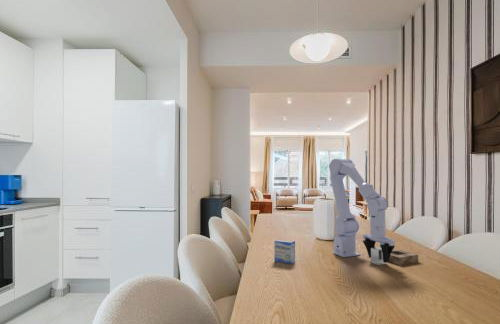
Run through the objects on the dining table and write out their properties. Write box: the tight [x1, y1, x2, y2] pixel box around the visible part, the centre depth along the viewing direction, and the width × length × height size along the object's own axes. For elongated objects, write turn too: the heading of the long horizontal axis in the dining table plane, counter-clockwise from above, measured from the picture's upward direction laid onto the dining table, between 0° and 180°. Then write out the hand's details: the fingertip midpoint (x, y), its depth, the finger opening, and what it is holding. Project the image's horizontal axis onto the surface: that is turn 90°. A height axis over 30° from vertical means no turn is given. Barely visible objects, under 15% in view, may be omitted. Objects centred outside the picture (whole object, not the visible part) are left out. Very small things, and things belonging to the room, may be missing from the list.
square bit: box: [370, 246, 387, 266], centre depth 122 cm, size 4×4×6 cm
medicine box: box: [273, 239, 296, 265], centre depth 125 cm, size 8×4×9 cm, turn 62°
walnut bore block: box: [388, 248, 419, 266], centre depth 126 cm, size 11×11×3 cm
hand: (378, 259), depth 122 cm, fingers open, 7 cm apart
